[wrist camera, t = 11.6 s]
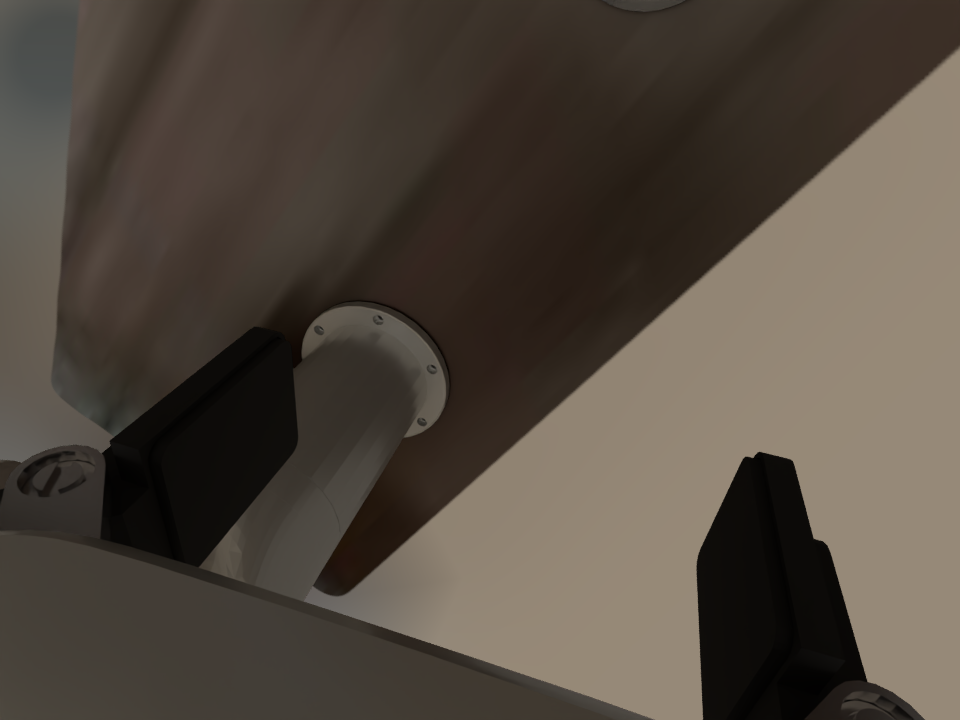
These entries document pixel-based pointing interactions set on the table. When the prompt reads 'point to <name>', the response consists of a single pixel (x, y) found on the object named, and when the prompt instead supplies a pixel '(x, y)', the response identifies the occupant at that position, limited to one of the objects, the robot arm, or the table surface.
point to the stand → (643, 4)
